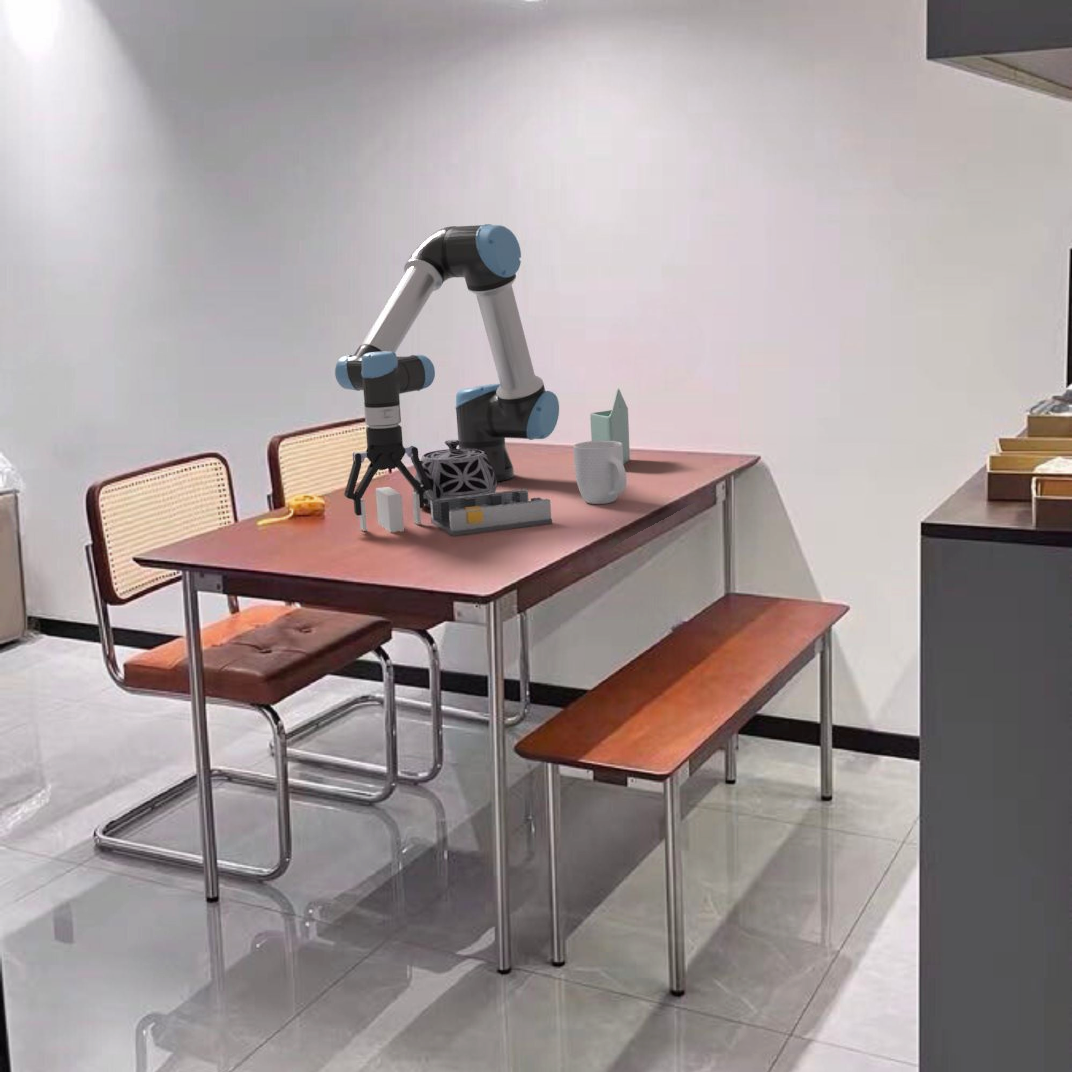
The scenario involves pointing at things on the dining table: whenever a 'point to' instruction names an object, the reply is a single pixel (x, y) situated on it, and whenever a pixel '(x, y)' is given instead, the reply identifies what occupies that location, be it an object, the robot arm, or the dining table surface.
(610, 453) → the mug
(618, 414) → the planter
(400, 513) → the panel
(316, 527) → the dining table surface
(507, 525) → the rack
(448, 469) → the teapot
